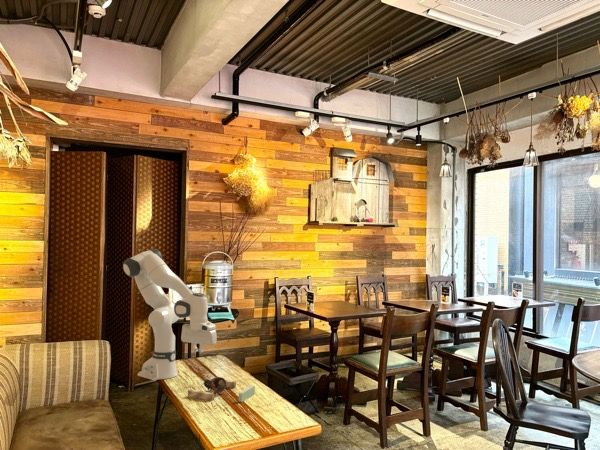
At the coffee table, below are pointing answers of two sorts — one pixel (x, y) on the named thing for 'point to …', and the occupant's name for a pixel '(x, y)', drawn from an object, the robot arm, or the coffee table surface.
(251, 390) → the block
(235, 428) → the coffee table surface
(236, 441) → the coffee table surface
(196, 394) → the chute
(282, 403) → the coffee table surface
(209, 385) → the broken brown clay pot
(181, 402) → the coffee table surface
